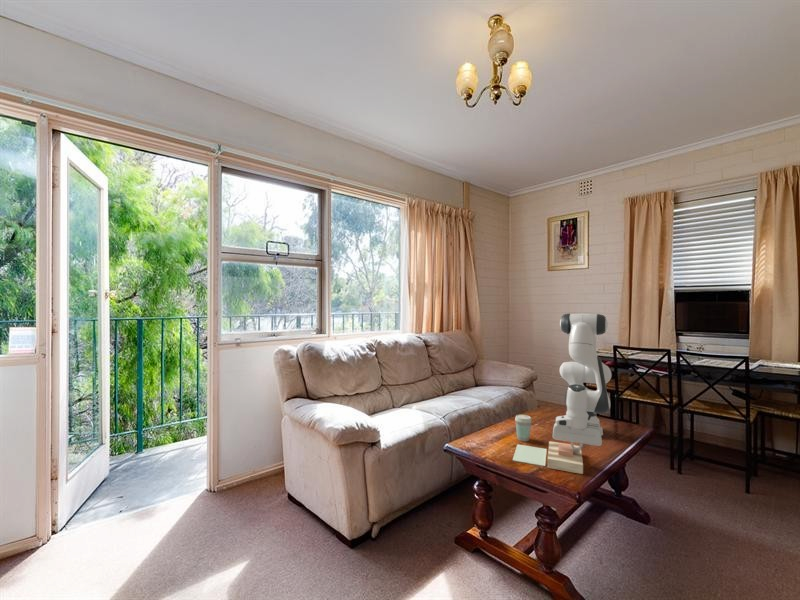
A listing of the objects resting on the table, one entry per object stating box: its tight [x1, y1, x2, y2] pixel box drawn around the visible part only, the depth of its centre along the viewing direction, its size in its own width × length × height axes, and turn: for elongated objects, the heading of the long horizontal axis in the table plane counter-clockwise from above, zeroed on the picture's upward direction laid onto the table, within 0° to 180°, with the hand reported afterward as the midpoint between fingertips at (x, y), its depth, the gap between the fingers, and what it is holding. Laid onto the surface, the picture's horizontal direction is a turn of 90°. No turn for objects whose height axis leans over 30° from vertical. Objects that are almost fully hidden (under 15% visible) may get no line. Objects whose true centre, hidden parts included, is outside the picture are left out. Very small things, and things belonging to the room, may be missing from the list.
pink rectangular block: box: [558, 442, 573, 457], centre depth 170 cm, size 9×6×2 cm, turn 157°
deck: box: [547, 441, 584, 475], centre depth 170 cm, size 22×14×4 cm, turn 156°
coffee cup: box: [514, 414, 533, 442], centre depth 195 cm, size 8×9×12 cm
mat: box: [511, 443, 548, 467], centre depth 176 cm, size 20×14×1 cm
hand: (576, 451), depth 168 cm, fingers closed
